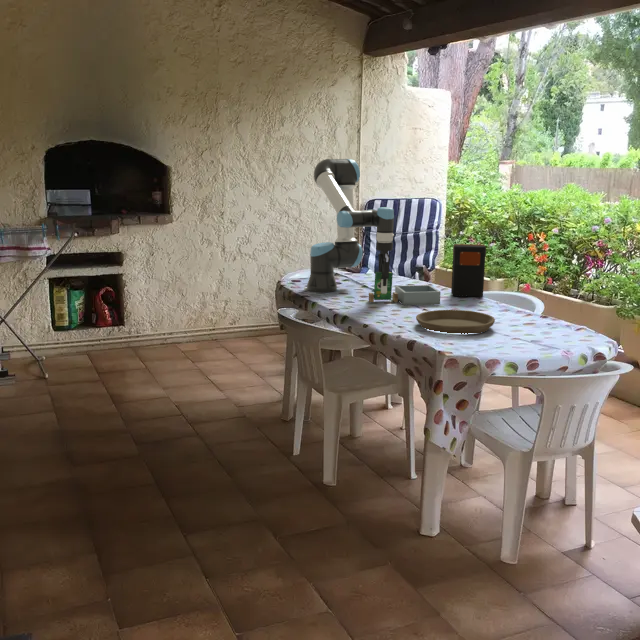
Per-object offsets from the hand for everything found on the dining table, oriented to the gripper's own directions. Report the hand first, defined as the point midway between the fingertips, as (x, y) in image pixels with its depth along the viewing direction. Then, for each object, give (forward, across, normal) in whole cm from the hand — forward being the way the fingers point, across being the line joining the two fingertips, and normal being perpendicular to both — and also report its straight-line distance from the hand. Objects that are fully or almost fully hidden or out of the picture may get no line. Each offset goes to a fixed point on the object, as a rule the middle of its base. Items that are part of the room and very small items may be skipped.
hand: (383, 291), depth 340 cm
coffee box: (+4, 0, 0) cm, 4 cm away
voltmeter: (+5, +9, -44) cm, 45 cm away
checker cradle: (+5, 0, 0) cm, 5 cm away
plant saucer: (+4, -53, -17) cm, 56 cm away
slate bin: (+5, -1, -16) cm, 17 cm away
